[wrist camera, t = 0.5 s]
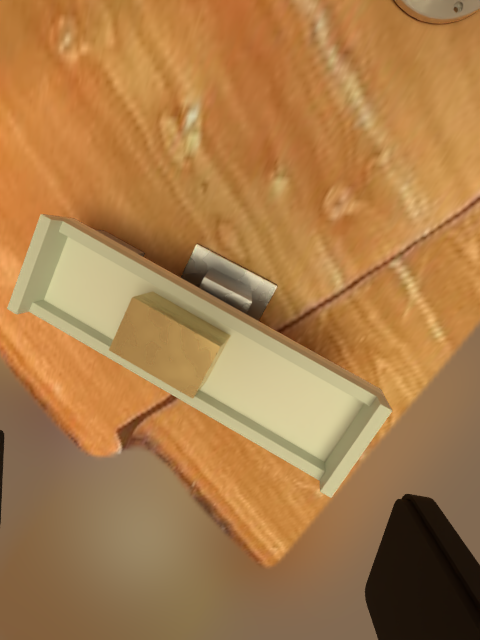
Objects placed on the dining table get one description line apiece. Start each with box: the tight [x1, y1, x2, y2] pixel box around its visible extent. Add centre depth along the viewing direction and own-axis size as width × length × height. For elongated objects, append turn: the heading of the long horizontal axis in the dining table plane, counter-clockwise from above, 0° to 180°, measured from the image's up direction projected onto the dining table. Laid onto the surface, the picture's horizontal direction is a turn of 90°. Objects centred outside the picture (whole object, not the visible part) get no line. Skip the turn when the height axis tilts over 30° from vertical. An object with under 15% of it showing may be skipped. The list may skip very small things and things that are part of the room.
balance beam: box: [7, 214, 392, 498], centre depth 35 cm, size 32×9×8 cm, turn 63°
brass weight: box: [109, 292, 231, 399], centre depth 32 cm, size 8×5×4 cm, turn 63°
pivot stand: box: [181, 244, 277, 321], centre depth 40 cm, size 10×14×8 cm
